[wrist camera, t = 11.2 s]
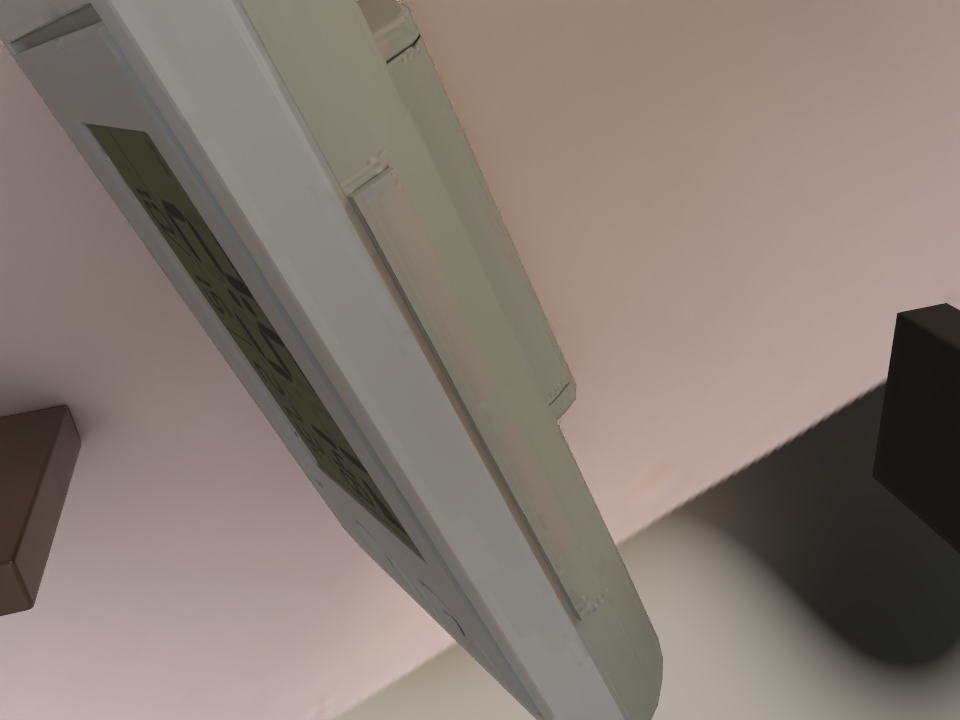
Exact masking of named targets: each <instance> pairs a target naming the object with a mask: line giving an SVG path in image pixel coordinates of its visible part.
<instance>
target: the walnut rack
mask: <svg viewBox="0 0 960 720" xmlns="http://www.w3.org/2000/svg"><path fill="white" fill-rule="evenodd" d="M80 447H81V442H80V439H79V437H78V434H77V431H76V428H75V426H74V423H73V420H72V418H71V415H70V412H69V409H68V408H67V406H61V407H56V408H51V409H46V410H41V411H35V412H30V413H25V414H20V415H15V416H10V417H5V418H0V616H3V615H7V614H12V613H16V612H20V611H25V610H29V609H31V608H33V606H34V604H35V601H36V597H37V594H38V590H39V587H40V583H41V580H42V577H43V573H44V570H45V566H46V563H47V560H48V556H49V553H50V549H51V546H52V543H53V539H54V536H55V532H56V529H57V526H58V522H59V519H60V515H61V512H62V509H63V505H64V502H65V498H66V495H67V491H68V488H69V485H70V481H71V478H72V474H73V471H74V468H75V464H76V461H77V457H78V454H79V451H80Z"/></svg>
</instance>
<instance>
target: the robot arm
mask: <svg viewBox="0 0 960 720" xmlns="http://www.w3.org/2000/svg"><path fill="white" fill-rule="evenodd" d="M873 477H874V478H875V479H876V480H877V481H878V482H879V483H880V484H882V485H883V486H884V487H885V488H886V489H887V490H888V491H890V492H891V493H892V494H893V495H894V496H895V497H896V498H897V499H899V500H900V501H901V502H902V503H903V504H904V505H905V506H907V507H908V508H909V509H910V510H911V511H912V512H913V513H915V514H916V515H917V516H918V517H919V518H920V519H921V520H922V521H924V522H925V523H926V524H927V525H928V526H929V527H930V528H931V529H933V530H934V531H935V532H936V533H937V534H938V535H939V536H941V537H942V538H943V539H944V540H945V541H946V542H947V543H948V544H950V545H951V546H952V547H953V548H954V549H955V550H957V551H958V552H959V553H960V310H958V309H956V308H954V307H953V306H951V305H949V304H947V303H944V304H939V305H934V306H930V307H925V308H920V309H915V310H910V311H905V312H900V313H897V319H896V326H895V332H894V339H893V345H892V352H891V358H890V365H889V371H888V378H887V384H886V391H885V397H884V404H883V410H882V417H881V423H880V430H879V436H878V443H877V450H876V455H875V462H874V468H873Z"/></svg>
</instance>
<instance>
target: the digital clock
mask: <svg viewBox="0 0 960 720" xmlns="http://www.w3.org/2000/svg"><path fill="white" fill-rule="evenodd" d="M0 38H1V40H2V41H3V43H4V44H5V46H6V47H7V49H8V50H9V52H10V53H11V55H12V56H13V57H14V59H15V60H16V62H17V63H18V65H19V66H20V67H21V69H22V70H23V72H24V73H25V75H26V76H27V77H28V79H29V80H30V82H31V83H32V85H33V86H34V88H35V89H36V90H37V92H38V93H39V95H40V96H41V98H42V99H43V100H44V102H45V103H46V105H47V106H48V108H49V109H50V111H51V112H52V113H53V115H54V116H55V118H56V119H57V121H58V122H59V123H60V125H61V126H62V128H63V129H64V131H65V132H66V133H67V135H68V136H69V138H70V139H71V141H72V142H73V143H74V145H75V146H76V148H77V149H78V151H79V152H80V153H81V155H82V156H83V158H84V159H85V161H86V162H87V163H88V165H89V166H90V168H91V169H92V171H93V172H94V173H95V175H96V176H97V178H98V179H99V180H100V182H101V183H102V185H103V186H104V188H105V189H106V190H107V192H108V193H109V195H110V196H111V198H112V199H113V200H114V202H115V203H116V205H117V206H118V208H119V209H120V210H121V212H122V213H123V215H124V216H125V218H126V219H127V220H128V222H129V223H130V225H131V226H132V227H133V229H134V230H135V232H136V233H137V235H138V236H139V237H140V239H141V240H142V242H143V243H144V245H145V246H146V247H147V249H148V250H149V252H150V253H151V255H152V256H153V257H154V259H155V260H156V262H157V263H158V265H159V266H160V267H161V269H162V270H163V272H164V273H165V275H166V276H167V277H168V279H169V280H170V282H171V283H172V284H173V286H174V287H175V289H176V290H177V292H178V293H179V294H180V296H181V297H182V299H183V300H184V302H185V303H186V304H187V306H188V307H189V309H190V310H191V312H192V313H193V314H194V316H195V317H196V319H197V320H198V322H199V323H200V324H201V326H202V327H203V329H204V330H205V332H206V333H207V334H208V336H209V337H210V339H211V340H212V341H213V343H214V344H215V346H216V347H217V349H218V350H219V351H220V353H221V354H222V356H223V357H224V359H225V360H226V361H227V363H228V364H229V366H230V367H231V369H232V370H233V371H234V373H235V374H236V376H237V377H238V379H239V380H240V381H241V383H242V384H243V386H244V387H245V389H246V390H247V391H248V393H249V394H250V396H251V397H252V398H253V400H254V401H255V403H256V404H257V406H258V407H259V408H260V410H261V411H262V413H263V414H264V416H265V417H266V418H267V420H268V421H269V423H270V424H271V426H272V427H273V428H274V430H275V431H276V433H277V434H278V436H279V437H280V438H281V440H282V441H283V443H284V444H285V445H286V447H287V448H288V450H289V451H290V453H291V454H292V455H293V457H294V458H295V460H296V461H297V463H298V464H299V465H300V467H301V468H302V470H303V471H304V473H305V474H306V475H307V477H308V478H309V480H310V481H311V482H312V484H313V485H314V487H315V488H316V490H317V491H318V492H319V494H320V495H321V497H322V498H323V499H324V501H325V502H326V504H327V505H328V506H329V508H330V509H331V511H332V512H333V514H334V515H335V516H336V518H337V519H338V521H339V522H340V523H341V525H342V526H343V528H344V529H345V530H346V531H347V532H348V533H349V535H350V536H351V537H352V538H353V539H354V540H355V541H356V542H357V544H358V545H359V546H360V547H361V548H362V549H363V550H364V551H365V552H366V553H367V554H368V555H369V556H370V557H371V558H372V559H373V560H374V561H375V562H376V563H377V564H378V565H379V566H380V567H381V568H382V569H383V570H384V571H385V572H386V573H387V574H388V575H389V576H390V577H392V578H393V579H394V580H395V581H396V582H397V583H398V584H399V585H400V586H401V587H402V588H403V589H404V590H405V591H406V592H407V593H408V594H409V595H410V596H411V597H412V598H413V599H414V600H415V601H416V602H417V603H418V604H419V605H420V606H421V607H422V608H423V609H424V610H425V611H426V612H427V613H428V614H429V615H430V616H431V617H432V618H433V619H434V620H435V621H436V622H437V623H438V624H439V625H441V626H442V627H443V628H444V629H445V630H446V631H447V632H448V633H449V634H450V635H451V636H452V637H453V638H454V639H455V640H456V641H457V642H458V643H459V644H460V645H461V646H462V647H463V648H464V649H465V650H466V651H467V652H468V653H469V654H470V655H471V656H472V657H473V658H474V659H475V660H476V661H477V662H478V663H479V664H480V665H481V666H483V668H484V669H486V671H487V672H489V673H490V674H491V675H492V676H493V677H494V678H495V679H496V680H497V681H498V682H499V683H500V684H501V685H502V686H503V687H504V688H505V689H506V690H507V691H508V692H509V693H510V694H511V695H512V696H513V697H514V698H515V699H516V700H517V701H518V702H519V703H520V704H521V705H522V706H523V707H524V708H525V709H526V710H527V711H528V712H529V713H531V714H532V715H533V716H534V717H535V718H536V719H537V720H651V719H652V717H653V715H654V712H655V710H656V708H657V706H658V701H659V696H660V690H661V684H662V670H663V656H662V652H661V648H660V644H659V640H658V637H657V635H656V633H655V631H654V629H653V626H652V624H651V622H650V620H649V617H648V615H647V613H646V611H645V609H644V606H643V604H642V602H641V600H640V598H639V595H638V593H637V591H636V589H635V587H634V584H633V582H632V580H631V578H630V576H629V574H628V571H627V569H626V567H625V565H624V563H623V561H622V559H621V556H620V554H619V553H618V550H617V548H616V546H615V544H614V542H613V539H612V537H611V535H610V533H609V531H608V529H607V527H606V525H605V523H604V520H603V518H602V516H601V514H600V512H599V510H598V508H597V506H596V504H595V501H594V499H593V497H592V495H591V493H590V491H589V489H588V487H587V485H586V482H585V480H584V478H583V476H582V474H581V472H580V470H579V468H578V466H577V463H576V461H575V459H574V457H573V455H572V453H571V451H570V449H569V447H568V444H567V442H566V440H565V438H564V436H563V434H562V432H561V430H560V428H559V425H558V423H557V420H558V419H559V418H560V417H561V416H562V415H563V414H564V413H565V412H566V411H567V409H568V408H569V407H570V406H571V404H572V403H573V402H574V401H575V399H576V383H575V381H574V379H573V376H572V374H571V372H570V370H569V367H568V365H567V363H566V361H565V359H564V357H563V354H562V352H561V350H560V348H559V345H558V343H557V341H556V339H555V336H554V334H553V332H552V330H551V327H550V325H549V323H548V321H547V318H546V316H545V314H544V312H543V310H542V307H541V305H540V303H539V301H538V298H537V296H536V294H535V292H534V289H533V287H532V285H531V283H530V280H529V278H528V276H527V274H526V271H525V269H524V267H523V265H522V262H521V260H520V258H519V256H518V253H517V251H516V249H515V247H514V244H513V242H512V240H511V238H510V235H509V233H508V231H507V229H506V226H505V224H504V222H503V220H502V217H501V215H500V213H499V211H498V208H497V206H496V204H495V202H494V200H493V197H492V195H491V193H490V191H489V188H488V186H487V184H486V182H485V179H484V177H483V175H482V173H481V170H480V168H479V166H478V164H477V161H476V159H475V157H474V155H473V152H472V150H471V148H470V146H469V143H468V141H467V139H466V137H465V134H464V132H463V130H462V128H461V125H460V123H459V121H458V119H457V116H456V114H455V112H454V110H453V107H452V105H451V103H450V101H449V98H448V96H447V94H446V92H445V89H444V87H443V85H442V83H441V81H440V78H439V76H438V74H437V72H436V69H435V67H434V65H433V63H432V60H431V58H430V56H429V54H428V51H427V49H426V47H425V45H424V42H423V40H422V38H421V36H420V33H419V31H418V28H417V26H416V24H415V22H414V19H413V17H412V15H411V12H410V10H409V9H408V8H407V6H406V5H404V4H402V3H400V2H397V1H395V0H358V1H357V0H0Z"/></svg>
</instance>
